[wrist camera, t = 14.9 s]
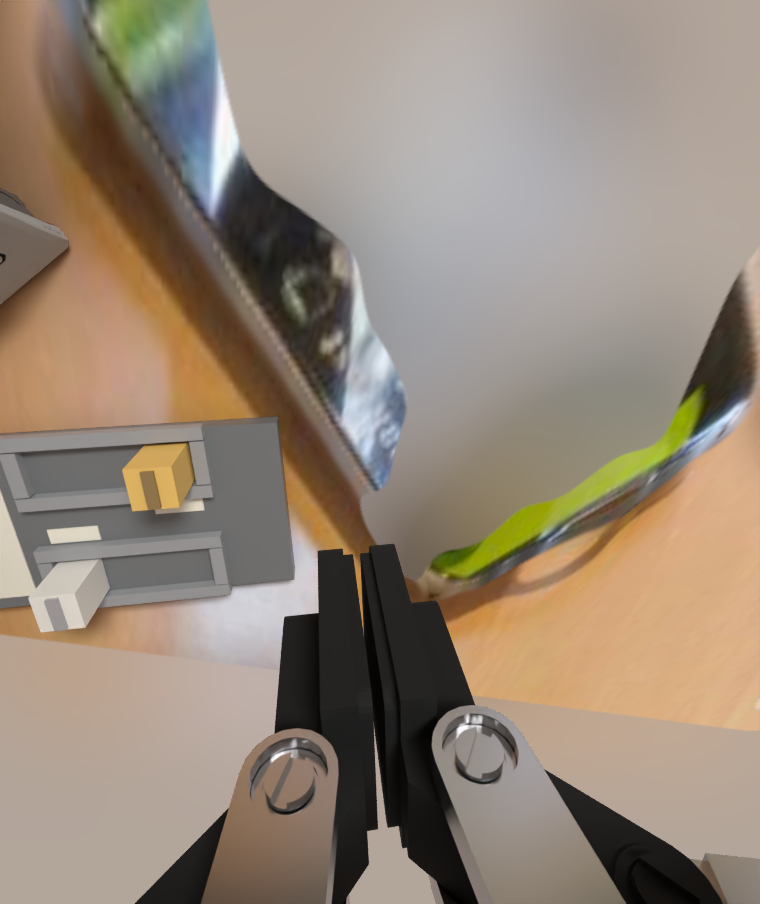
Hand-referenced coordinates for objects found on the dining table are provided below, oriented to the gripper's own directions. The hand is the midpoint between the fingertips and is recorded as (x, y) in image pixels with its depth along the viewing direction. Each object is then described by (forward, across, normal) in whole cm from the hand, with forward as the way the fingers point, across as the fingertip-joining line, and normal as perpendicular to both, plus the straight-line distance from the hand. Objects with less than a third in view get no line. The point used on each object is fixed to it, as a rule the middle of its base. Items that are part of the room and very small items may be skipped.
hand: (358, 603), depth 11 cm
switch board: (+27, +16, +11) cm, 33 cm away
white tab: (+26, +20, +16) cm, 36 cm away
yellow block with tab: (+26, +12, +6) cm, 29 cm away
